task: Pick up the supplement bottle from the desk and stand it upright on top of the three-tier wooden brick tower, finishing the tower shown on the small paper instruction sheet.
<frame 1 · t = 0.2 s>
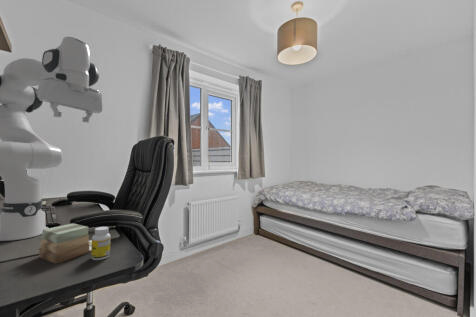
hand: (72, 119, 81), 47 cm above the table, tool pointing down, fingers open, 8 cm apart
instruction sheet: (90, 245, 84), on the table
supplement bottle: (100, 257, 74), on the table
brick tower: (64, 254, 75), on the table
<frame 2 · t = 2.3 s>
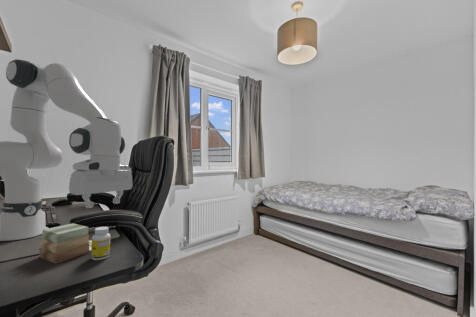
hand: (103, 205, 75), 18 cm above the table, tool pointing down, fingers open, 8 cm apart
nothing on the table moved.
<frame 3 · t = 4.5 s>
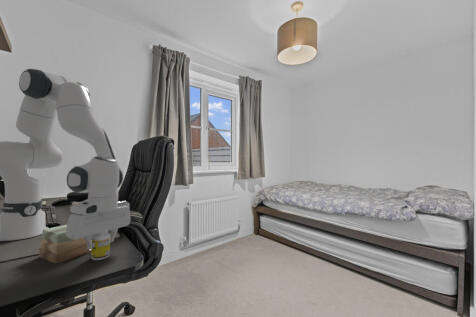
hand: (101, 244, 74), 4 cm above the table, tool pointing down, fingers closed on supplement bottle, 5 cm apart
supplement bottle: (100, 257, 74), on the table, touching gripper
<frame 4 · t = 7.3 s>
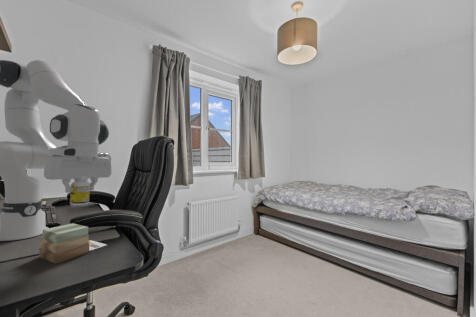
hand: (80, 191, 76), 22 cm above the table, tool pointing down, fingers closed on supplement bottle, 5 cm apart
supplement bottle: (79, 204, 76), point 17 cm above the table, touching gripper
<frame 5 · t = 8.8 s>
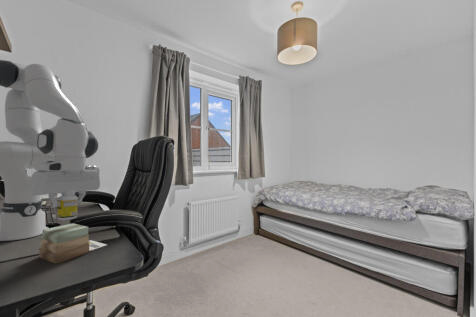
hand: (67, 205, 75), 17 cm above the table, tool pointing down, fingers closed on supplement bottle, 5 cm apart
supplement bottle: (67, 218, 75), point 12 cm above the table, touching gripper
when the fingers open (15 cm above the table, at t = 10.1 s): supplement bottle drops 1 cm, resting on brick tower.
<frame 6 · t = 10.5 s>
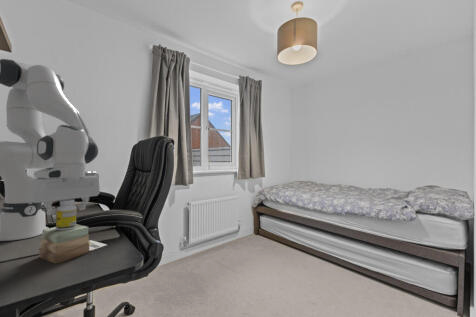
hand: (67, 212, 75), 15 cm above the table, tool pointing down, fingers open, 8 cm apart
supplement bottle: (66, 228, 75), point 9 cm above the table, touching brick tower
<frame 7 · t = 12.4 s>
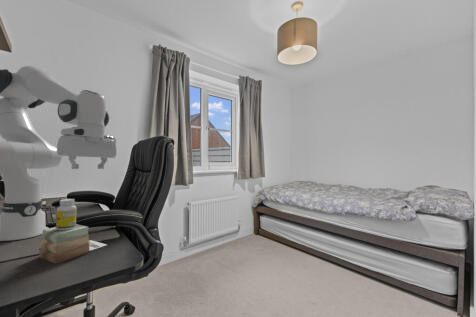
hand: (88, 168, 84), 29 cm above the table, tool pointing down, fingers open, 8 cm apart
nothing on the table moved.
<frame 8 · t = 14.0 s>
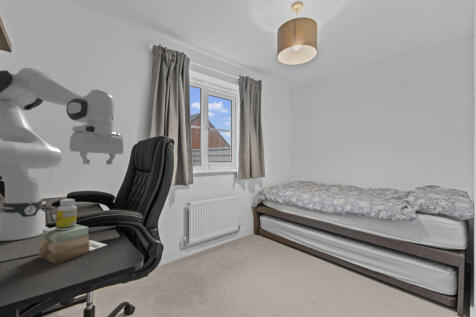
hand: (98, 164, 89), 31 cm above the table, tool pointing down, fingers open, 8 cm apart
nothing on the table moved.
at the end: supplement bottle 0.1 cm off-centre on the brick tower, point 8.8 cm above the brick tower's base; supplement bottle tilted 0°; the gripper is holding nothing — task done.
